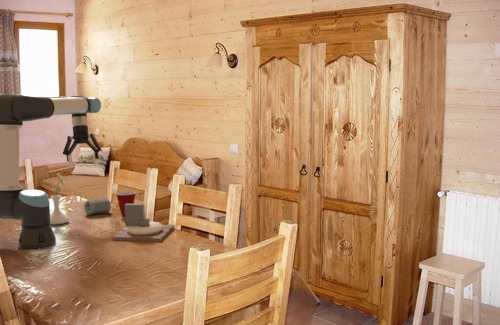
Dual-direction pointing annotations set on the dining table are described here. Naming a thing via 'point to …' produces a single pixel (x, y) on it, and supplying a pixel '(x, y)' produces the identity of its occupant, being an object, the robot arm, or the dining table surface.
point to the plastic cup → (125, 200)
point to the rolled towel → (97, 206)
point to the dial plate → (151, 237)
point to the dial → (139, 221)
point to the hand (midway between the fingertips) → (83, 166)
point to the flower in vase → (57, 215)
